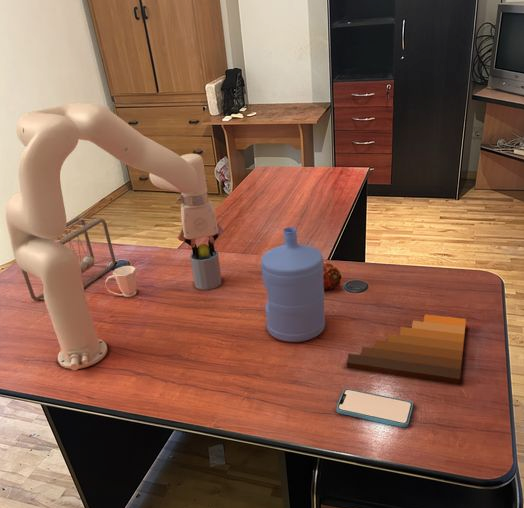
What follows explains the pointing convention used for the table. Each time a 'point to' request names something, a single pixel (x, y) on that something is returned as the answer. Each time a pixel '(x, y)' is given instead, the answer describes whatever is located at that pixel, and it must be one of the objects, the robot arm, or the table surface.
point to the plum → (203, 250)
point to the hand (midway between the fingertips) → (204, 255)
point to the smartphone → (375, 407)
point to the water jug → (294, 290)
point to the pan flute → (418, 351)
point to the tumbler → (206, 271)
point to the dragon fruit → (331, 276)
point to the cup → (125, 280)
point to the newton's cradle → (88, 260)
